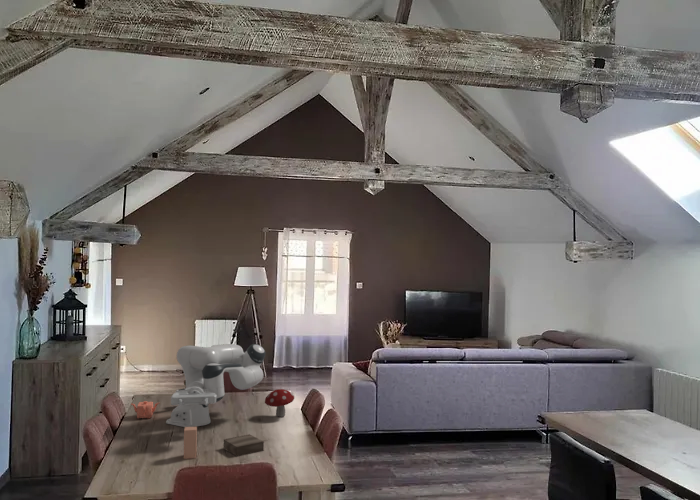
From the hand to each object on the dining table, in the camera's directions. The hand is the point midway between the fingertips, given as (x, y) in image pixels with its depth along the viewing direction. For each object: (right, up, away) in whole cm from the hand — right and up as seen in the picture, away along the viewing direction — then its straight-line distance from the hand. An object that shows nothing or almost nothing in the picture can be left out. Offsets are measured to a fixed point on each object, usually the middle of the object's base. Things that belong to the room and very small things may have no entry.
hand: (193, 403), depth 268 cm
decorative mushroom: (+33, -21, +52) cm, 65 cm away
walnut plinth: (+23, -20, -2) cm, 31 cm away
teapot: (-38, -20, +48) cm, 64 cm away
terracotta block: (+2, -20, -12) cm, 23 cm away
